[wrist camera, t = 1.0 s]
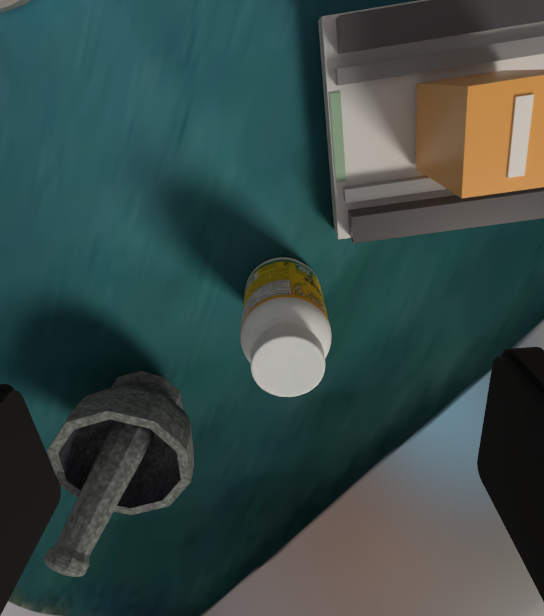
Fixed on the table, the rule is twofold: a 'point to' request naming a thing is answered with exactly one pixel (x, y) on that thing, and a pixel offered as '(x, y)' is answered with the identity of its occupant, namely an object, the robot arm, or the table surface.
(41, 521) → the robot arm
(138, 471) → the mortar and pestle
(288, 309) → the supplement bottle
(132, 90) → the table surface
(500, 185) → the orange rectangular block
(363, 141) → the breaker panel
